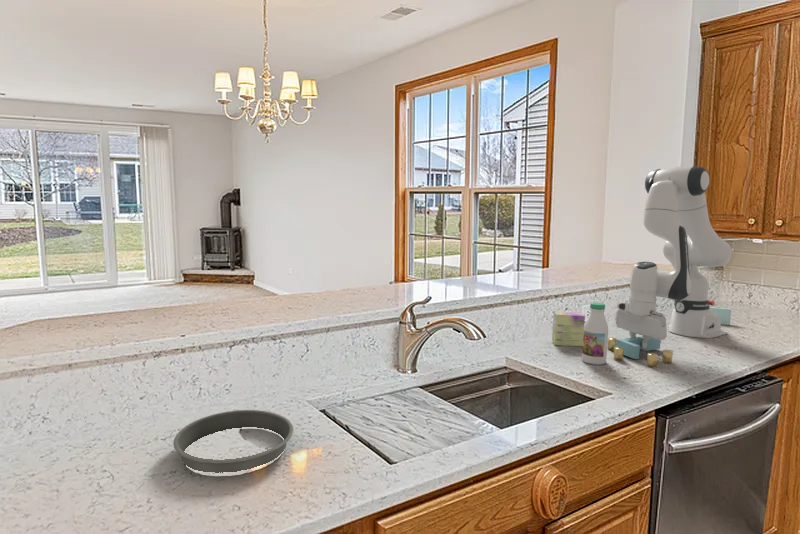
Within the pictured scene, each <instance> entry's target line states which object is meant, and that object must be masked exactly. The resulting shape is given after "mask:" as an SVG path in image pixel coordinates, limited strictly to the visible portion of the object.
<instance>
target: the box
mask: <svg viewBox="0 0 800 534" xmlns="http://www.w3.org/2000/svg"><path fill="white" fill-rule="evenodd" d="M585 320H586V316H585V314H584V313H583V312H576V311H575V312H574V311H573V312H572V311H553V322H552V336H551V337H552V338H551V340H552V341H553V342H552V341H551V342H552V343H553V344H554V346H565V347H566V346H567V347H569V346H571V347H581V348H583V335H584V326H585V323H586V321H585Z"/></svg>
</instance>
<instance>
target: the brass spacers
mask: <svg viewBox="0 0 800 534" xmlns="http://www.w3.org/2000/svg"><path fill="white" fill-rule="evenodd" d="M617 339H618V338H617V337H608V344H607V351H612V352H613V360H614V361H617V362H623V361H624V355H623V354H624V348H622V347H616V346H617ZM673 352H674V351H673V350H671V349H662V354H661V355H662V356H661V358H662V359H661V363H663V364H666V363H667V364H668V365H669V364H670V365H671V363H672V364H673V355H674V353H673ZM667 364H666V365H667ZM657 365H658V354H657V353H656V352H655V353H654V352H648V353H647V354H646V366H647V367H648V368H653V367H655V368H658V366H657ZM653 369H654V368H653Z"/></svg>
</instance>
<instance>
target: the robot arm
mask: <svg viewBox="0 0 800 534" xmlns="http://www.w3.org/2000/svg"><path fill="white" fill-rule="evenodd" d="M710 181H711V179H710V173H709V171H708V170H707V169H706V167H703V166H675V167H668V168H663V169H661V168H658V169H655V170H654V169H653V170H651V171H650V172H649V173H648V174H647V175H646V177H645V180H644V188H645V191H646V192H647V197H646V200H645V205H644V211H643V225H644V227H645V229H646V230H647V231H648V232H649V233H650V234H652V235H653V236H656V237H658V238H660V239H663V240H665V242H664V244H663V246H662V252H663V255H664V257H665V259H667V261H669V263H670V264H671V265H672V267H673V269H674V270H673V271H670V270H660V269H658V265H657V263H655V262H652V261H638V262H636V263H634V264H633V267H632V270H631V274H630V281H629V289H630V295H629V296H628V297H629V298H628V300H627V301H623V302H618V303H617V310H616V316H615V325H616V327H617V328H619V329H622V330H626V331H628V332H629V333H628V334H629V338H634V337H637V335H640V336H643V339H644V340H643V341H642V342H640V347H642V348H646V347H647V343H648V341H649V340H650V338H652V339H655V340H661V341H664V340H665V339H666V338H667V337H668V335H667V334H668V332H671V333H673V334H676V335H679V336H685V337H692V338H700V339H701V338H702V339H713V338H717V337H720V336H723V335H727V334H728V331H727V330H725V329H723V328H721V326H722V324H721V321H720V318H719V317H718V316H716V315H715V314H714V313H713V312H712V311H711V310H710V307H713V306H715V304H716V302H715V300H711V299H708V294H709V287H710V286H709V283H710V282H709V280H708V278H707V277H706V276H704V275H703V274H701V272H700V271H699V269H698V266H700V267H707V268H711V267H712V268H715V267H717V268H718V267H723V266H726V264H728V263H729V261H730V260H731V258H732V253H733V252H732V247H731V246H730V244H729V243H728V242H726V241H725V240H724V239H722V238H721V237H720V236H719V235H718V234H717V232H716V231H715V230H714V228H713V226H712V224H711V222H710V218H709V217H710V216H709V212H708V203H707V196H706V191H707V190H708V189H709V187H710ZM657 297H659V298H663V299H664V298H665V299H669V300H674V301H673V302H674V304H673V305H674V308H673V309H672V313H671V318H670V322H669V323H670V324H668V329H667V318H666V316H665V315H664V314H663V313H661V312H657V311H656V309H657ZM667 330H668V331H667Z"/></svg>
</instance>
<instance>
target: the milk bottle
mask: <svg viewBox="0 0 800 534" xmlns="http://www.w3.org/2000/svg"><path fill="white" fill-rule="evenodd" d="M589 307H590V312H589V315H588V318H587V319H586V321H585V324H584V335H583V347H582V351H581V360H582V362H584V363H586V364H589V365H597V366H600V365H601V366H602V365H605V364H606V363H607V358H608V357H607V356H608V349H607V348H608V338H609V325H608V322H607V320H606V317H605V311H606V310H605V308H606V304H605V303H603V302H597V301H596V302H595V301H594V302H590V305H589Z"/></svg>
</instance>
